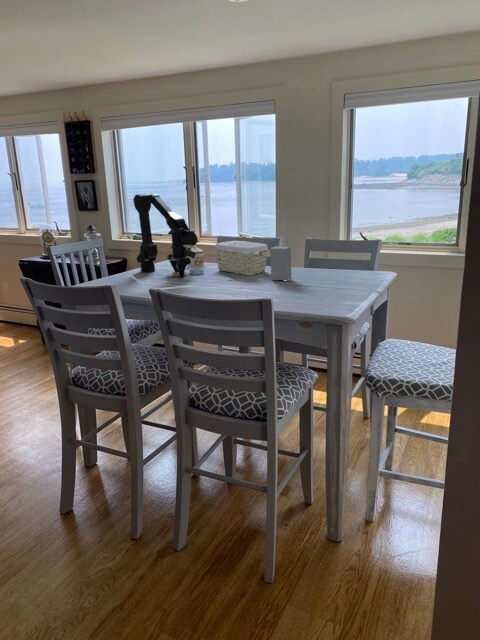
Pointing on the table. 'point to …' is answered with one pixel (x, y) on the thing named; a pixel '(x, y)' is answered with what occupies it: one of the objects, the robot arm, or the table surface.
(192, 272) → the bowl
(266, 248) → the storage basket
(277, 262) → the skincare box
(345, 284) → the table surface
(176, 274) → the lid
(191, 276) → the mat
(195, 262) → the teacup with lid
